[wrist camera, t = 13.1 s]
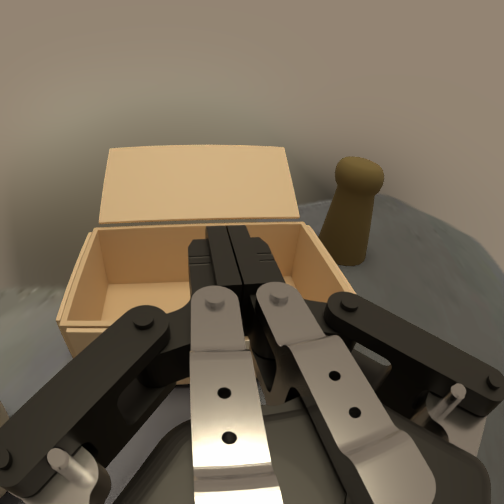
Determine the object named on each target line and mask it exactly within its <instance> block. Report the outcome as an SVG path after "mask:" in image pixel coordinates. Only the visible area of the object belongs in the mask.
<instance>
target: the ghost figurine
mask: <svg viewBox="0 0 504 504" xmlns="http://www.w3.org/2000/svg"><path fill="white" fill-rule="evenodd" d="M8 419H10V418H9V416H8V414H7V412H6V410H5V408H4V406H3V404H2V403H1V401H0V427H1V426H2V425H3V424H4V423H5V422H6V421H7V420H8ZM6 492H7V490H5V489H3V488H2V487H0V498H1V497H2V496H3V495H4V494H5V493H6Z"/></svg>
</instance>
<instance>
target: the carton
mask: <svg viewBox="0 0 504 504" xmlns="http://www.w3.org/2000/svg"><path fill="white" fill-rule="evenodd" d="M223 225H225V226H226V225H246V227H247V230H248V232H249V235H250V237H260V238H261V239H262V240H263V241H265V242H266V243H267V244H268V246H269V248H270V250H271V252H272V254H273V256H274V258H275V261H276V263H277V265H278V267H279V269H280V271H281V274H282V276H283V278H284V280H285V282H286V284H289V285H291V286H293V287H294V288H296V289H297V290H298V291H299V293H300V294H301V296H302V298H303V299H306V300H311V301H318V302H325V303H327V301H328V298H329V297H330V296H331V295H332V294H334V293H336V292H350V293H354V294H356V293H355V291H354V290H353V288H352V287H351V285H350V284H349V282H348V281H347V279H346V278H345V276H344V275H343V273H342V272H341V270H340V269H339V267H338V266H337V264H336V263H335V261H334V260H333V258H332V257H331V256H330V254H329V253H328V251H327V250H326V248H325V247H324V245H323V244H322V242H321V241H320V240H319V238H318V237H317V235H316V234H315V232H314V231H313V230H312V228H311V227H310V225H306V224H305V223H304V222H245V223H206V224H205V223H202V224H171V225H146V226H122V227H102V228H94V230H93V232H89V233H88V236H87V238H86V240H85V242H84V245H83V247H82V250H81V252H80V254H79V258H78V259H77V262H76V265H75V267H74V270H73V273H72V275H71V278H70V280H69V283H68V286H67V289H66V291H65V294H64V297H63V300H62V303H61V306H60V309H59V312H58V315H57V318H56V322H57V324H58V327H59V329H60V331H61V334H62V336H63V338H64V340H65V342H66V344H67V347H68V349H69V351H70V353H71V355H72V357H73V359H74V358H75V357H76V356H77V355H78V354H79V353H80V352H81V351H82V350H84V349H85V348H86V347H87V346H88V345H89V344H90V343H91V342H93V341H94V340H95V339H96V338H97V337H98V336H99V335H100V334H102V333H103V332H104V331H105V330H106V329H107V328H108V327H109V326H111V325H112V324H113V323H114V322H115V321H116V320H117V319H119V318H120V317H121V316H122V315H123V314H124V313H126V312H127V311H128V310H130V309H131V308H134V307H136V306H141V305H152V306H156V307H158V308H160V309H162V310H163V311H164V312H165V313H166V314H167V313H170V312H173V311H176V310H178V309H180V308H182V307H183V306H185V305H186V304H187V303H188V302H189V300H190V288H189V271H188V246H189V245H190V243H191V242H192V240H193V239H205V229H206V226H223ZM244 338H245V345H246V349H249V346H250V341H249V338H248V336H245V337H244ZM254 371H255V370H254ZM255 377H256V378H257V375H256V373H255ZM178 384H190V377H188V378H185V379H183V380H180V381H177V383H176V385H178Z"/></svg>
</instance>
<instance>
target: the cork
mask: <svg viewBox="0 0 504 504" xmlns="http://www.w3.org/2000/svg"><path fill="white" fill-rule="evenodd" d="M335 179H336V182H337V185H338V186H337V189H336V192H335V195H334V197H333V200H332V203H331V205H330V208H329V211H328V213H327V216H326V219H325V221H324V224H323V227H322V229H321V232H320V234H319V237H318V238H319V240H320V241H321V242H322V244H323V245H324V247H325V248H326V250H327V251H328V253H329V254H330V256H331V257H332V258H333V260H334V261H335V263H336V264H339V265H344V266H355V265H359V264H361V263H362V262H363V261H364V259H365V256H366V250H367V244H368V238H369V232H370V225H371V218H372V211H373V204H374V196H375V195H376V194H377V193H378V192H379V191H380V189H381V187H382V185H383V182H384V173H383V170H382V168H381V167H380V166H379V165H378V164H376V163H374V162H372V161H370V160H367V159H364V158H360V157H345V158H342V159H341V160H340V162H339V163H338V164H337V166H336V170H335Z"/></svg>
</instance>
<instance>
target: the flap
mask: <svg viewBox="0 0 504 504" xmlns="http://www.w3.org/2000/svg"><path fill="white" fill-rule="evenodd" d="M299 217H300V216H299V211H298V207H297V202H296V198H295V193H294V188H293V184H292V180H291V175H290V171H289V166H288V162H287V158H286V153H285V149H284V147H269V146H244V145H168V146H142V147H125V148H111V149H110V150H109V156H108V161H107V167H106V173H105V179H104V186H103V193H102V200H101V208H100V216H99V224H113V223H133V222H158V221H187V220H224V219H299Z"/></svg>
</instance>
